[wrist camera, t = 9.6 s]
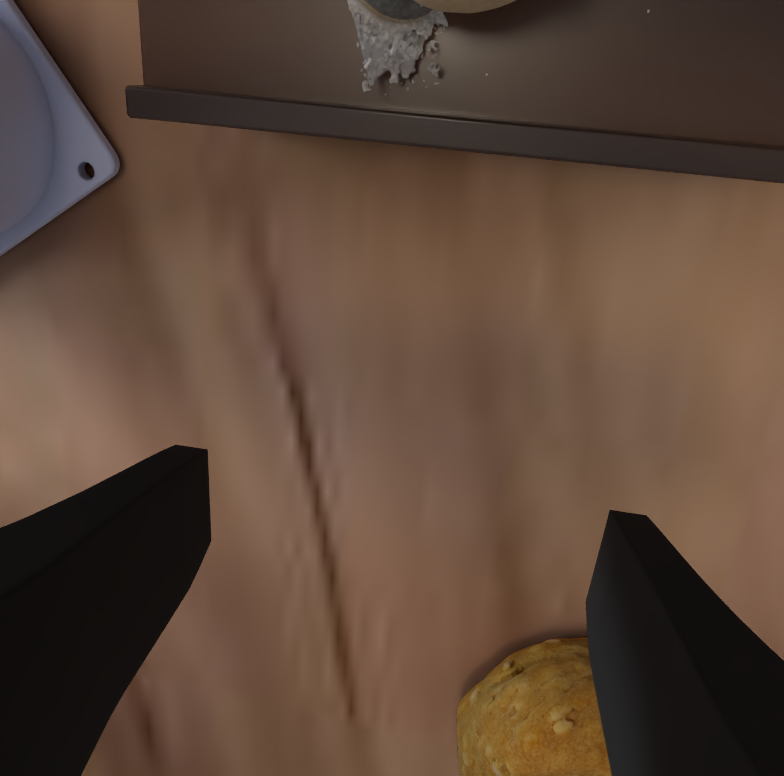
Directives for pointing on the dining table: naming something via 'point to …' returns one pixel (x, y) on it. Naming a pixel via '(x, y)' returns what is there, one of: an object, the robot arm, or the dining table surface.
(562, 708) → the bagel
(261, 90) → the shelf
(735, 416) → the dining table surface
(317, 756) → the dining table surface
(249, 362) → the dining table surface
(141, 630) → the robot arm
